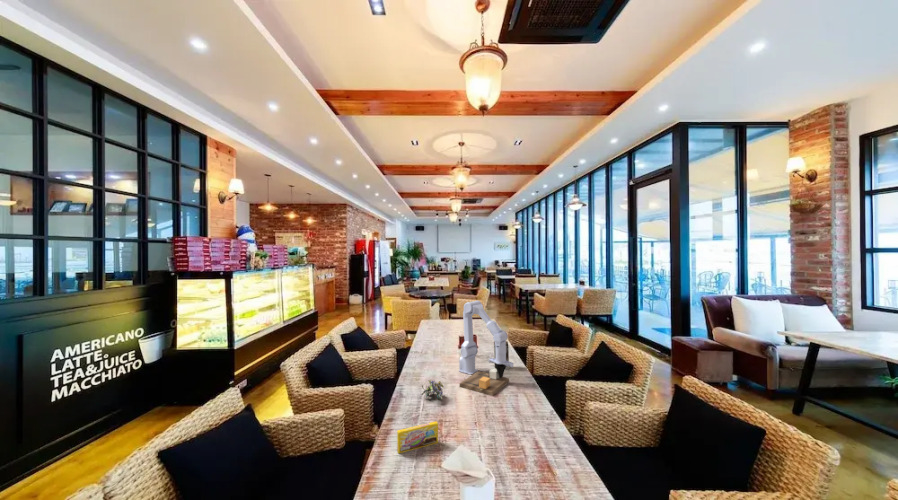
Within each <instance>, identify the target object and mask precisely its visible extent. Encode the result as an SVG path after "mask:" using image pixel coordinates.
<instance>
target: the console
mask: <svg viewBox="0 0 898 500" xmlns="http://www.w3.org/2000/svg"><path fill="white" fill-rule="evenodd" d="M482 377H487V378H490V372H489V373H488V372H486V371H480V370H478V371H476V372H475V373H473V374H471V375H470V376H468V377H467V378H465V379H464V380H462V381H460V382H459V388H463V389H466V390H468V391H469V390H470V391H473V392H477V393H480V394H483V395H488V396H491V397H493V396H494V395H495V394H497V392H499V391H500V390H501V389H502V388H504V387H505V386H506V385H507V384H509V383H510V377H505V376H503V377H502V378H497V379H492V378H490V386H489V387H488V388H486V389H483V388H480V387H479V379H481V378H482Z"/></svg>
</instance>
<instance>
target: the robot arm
mask: <svg viewBox="0 0 898 500" xmlns="http://www.w3.org/2000/svg"><path fill="white" fill-rule="evenodd" d="M474 315H478V316H479V317H480V318H481V319H482V320H483V322H484V323H485V324H486V328H487V329H488V331H489V333H490V334H491V335H492V340H493V343H494V342H495V347H496V359H494V357H493V358H488V363H493V364H494V363H496V365H495V367H496V369H497V371H498V374H499V378H502V377H504V373H505V371H506V369H505V368H506V366H509V368H514V362H512V361H510V360H509V361H506V341H507V340H508V339H509V338H508V334H507V333H508V332H507V331H505V330H503V329H501V328H500V327H499V324H497V322H496V321H495V320H492V319H491V318H490V316H489V315H488V314H487V312H486V310H485V309H484V305H483V303H482V302H481V301H480V300H473V301H467V302H466V303H464V305H463V311H462V316H463V318H462V319H463V338H464V341H463V343H461V348H460V355H461V356H460V357H459V360H458V361H459V363H458V365H459V370H458V372H461V373H464V374H469V375H473V374H475V373H476V372H478V371H479V370H478V369H477V368H476V355H477V354H478V349H479V348H478V347H477V342H475V341H474V327H473V325H474V324H473V316H474ZM495 367H494V368H495Z"/></svg>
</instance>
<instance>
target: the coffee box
mask: <svg viewBox="0 0 898 500" xmlns="http://www.w3.org/2000/svg"><path fill="white" fill-rule="evenodd" d="M509 355H510V351H509V342H508V341H507V340H506V361H509V362H510V357H509ZM493 359H496V347H495V342H494V341H493ZM493 364H494V365H493V366H494V368H495V369H496V367H495V365H496V363H493ZM505 370H510V366H506V368H505Z"/></svg>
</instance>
